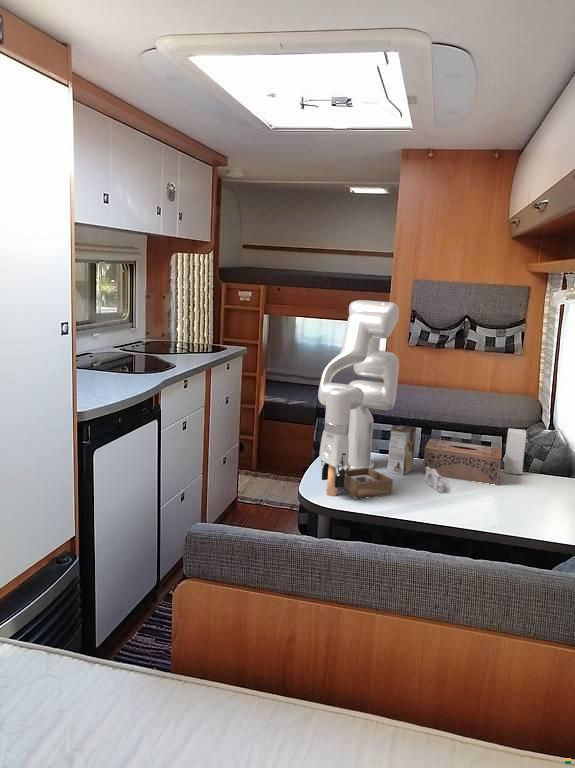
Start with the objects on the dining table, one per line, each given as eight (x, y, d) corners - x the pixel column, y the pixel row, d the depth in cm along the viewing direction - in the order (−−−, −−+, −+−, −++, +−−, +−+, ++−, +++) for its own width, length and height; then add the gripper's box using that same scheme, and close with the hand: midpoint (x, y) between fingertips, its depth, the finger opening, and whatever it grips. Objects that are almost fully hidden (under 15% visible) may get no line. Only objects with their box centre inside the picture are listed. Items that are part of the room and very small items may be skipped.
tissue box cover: (498, 474, 225) (501, 448, 223) (497, 486, 211) (501, 458, 210) (427, 463, 233) (429, 438, 231) (422, 474, 220) (425, 447, 218)
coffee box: (396, 466, 227) (400, 423, 224) (412, 469, 223) (416, 427, 221) (386, 472, 219) (390, 428, 216) (403, 475, 216) (407, 431, 213)
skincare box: (521, 475, 224) (527, 434, 221) (502, 472, 226) (507, 431, 224) (521, 469, 232) (526, 429, 229) (503, 466, 234) (508, 427, 231)
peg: (324, 493, 193) (327, 456, 191) (333, 492, 195) (336, 455, 193) (330, 496, 191) (332, 459, 189) (338, 495, 192) (341, 458, 190)
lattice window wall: (444, 493, 200) (446, 476, 199) (439, 493, 200) (441, 476, 199) (428, 481, 212) (429, 464, 211) (423, 481, 211) (425, 464, 210)
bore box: (335, 485, 201) (336, 471, 200) (367, 481, 207) (368, 467, 206) (357, 499, 190) (359, 483, 189) (391, 494, 196) (392, 479, 195)
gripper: (311, 422, 195) (308, 476, 198) (341, 436, 180) (337, 493, 183) (331, 420, 198) (328, 473, 202) (362, 434, 183) (358, 491, 187)
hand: (332, 482), depth 192 cm, fingers open, 6 cm apart
